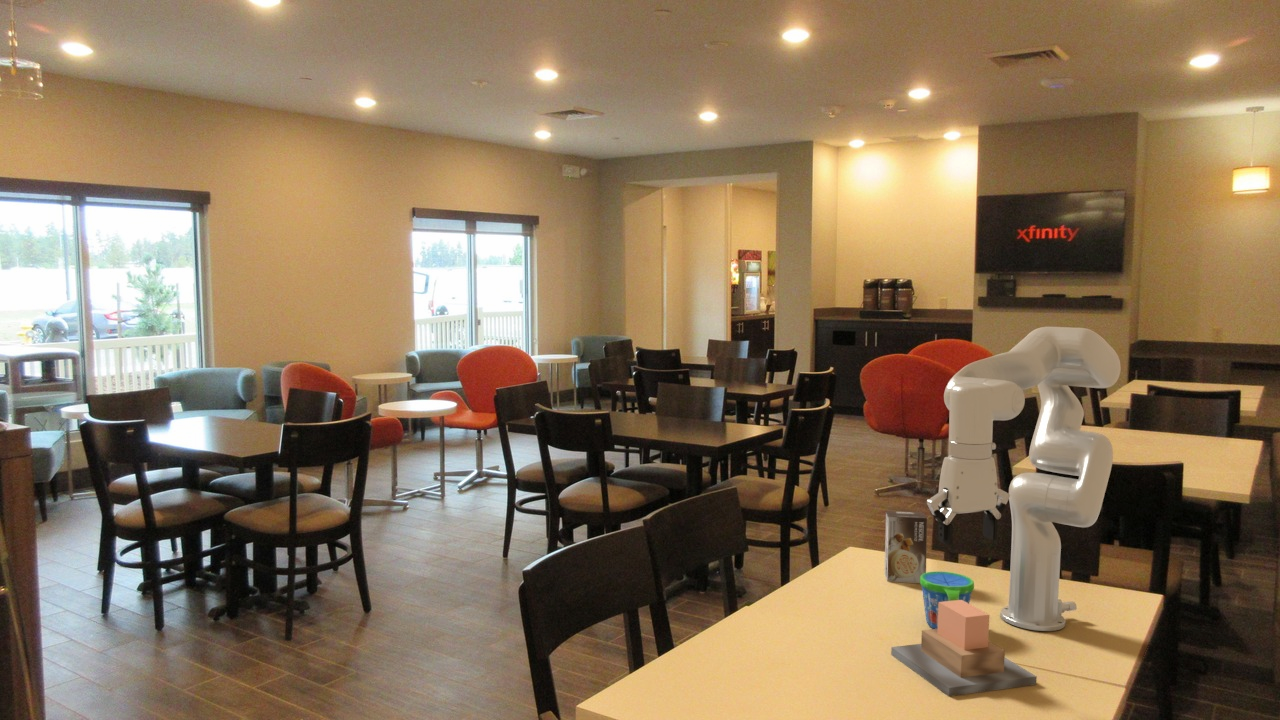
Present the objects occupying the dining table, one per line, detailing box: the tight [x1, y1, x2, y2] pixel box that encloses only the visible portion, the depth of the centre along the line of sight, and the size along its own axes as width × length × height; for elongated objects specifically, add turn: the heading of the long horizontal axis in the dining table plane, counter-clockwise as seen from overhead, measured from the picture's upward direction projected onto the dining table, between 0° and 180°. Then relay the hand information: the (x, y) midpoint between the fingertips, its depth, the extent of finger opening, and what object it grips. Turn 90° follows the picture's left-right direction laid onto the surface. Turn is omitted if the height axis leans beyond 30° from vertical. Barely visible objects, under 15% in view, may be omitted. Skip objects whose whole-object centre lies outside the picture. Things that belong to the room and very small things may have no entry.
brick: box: [937, 600, 990, 650], centre depth 162 cm, size 5×8×6 cm, turn 16°
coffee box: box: [884, 510, 928, 584], centre depth 214 cm, size 9×6×16 cm
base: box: [890, 628, 1037, 697], centre depth 163 cm, size 18×18×6 cm
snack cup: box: [919, 571, 975, 629], centre depth 184 cm, size 16×10×10 cm
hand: (967, 540), depth 165 cm, fingers open, 9 cm apart
